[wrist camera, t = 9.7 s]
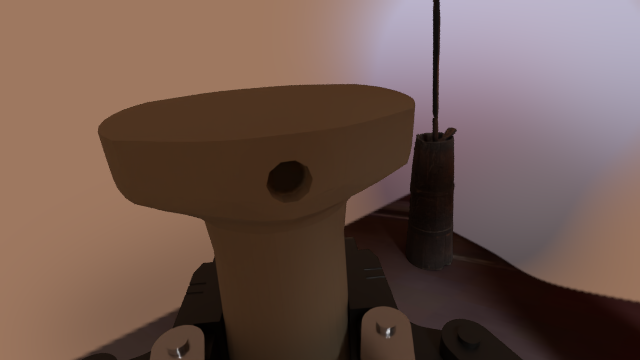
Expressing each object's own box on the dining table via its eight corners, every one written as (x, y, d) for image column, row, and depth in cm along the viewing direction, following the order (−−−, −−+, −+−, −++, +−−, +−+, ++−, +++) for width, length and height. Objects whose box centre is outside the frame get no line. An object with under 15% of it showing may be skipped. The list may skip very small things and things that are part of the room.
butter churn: (442, 224, 47) (472, -10, 35) (494, 267, 38) (556, -21, 27) (380, 238, 44) (390, -8, 33) (421, 287, 36) (454, -19, 24)
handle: (221, 442, 15) (130, 98, 9) (358, 400, 17) (361, 78, 10) (224, 604, 11) (53, 161, 5) (408, 528, 12) (463, 113, 6)
